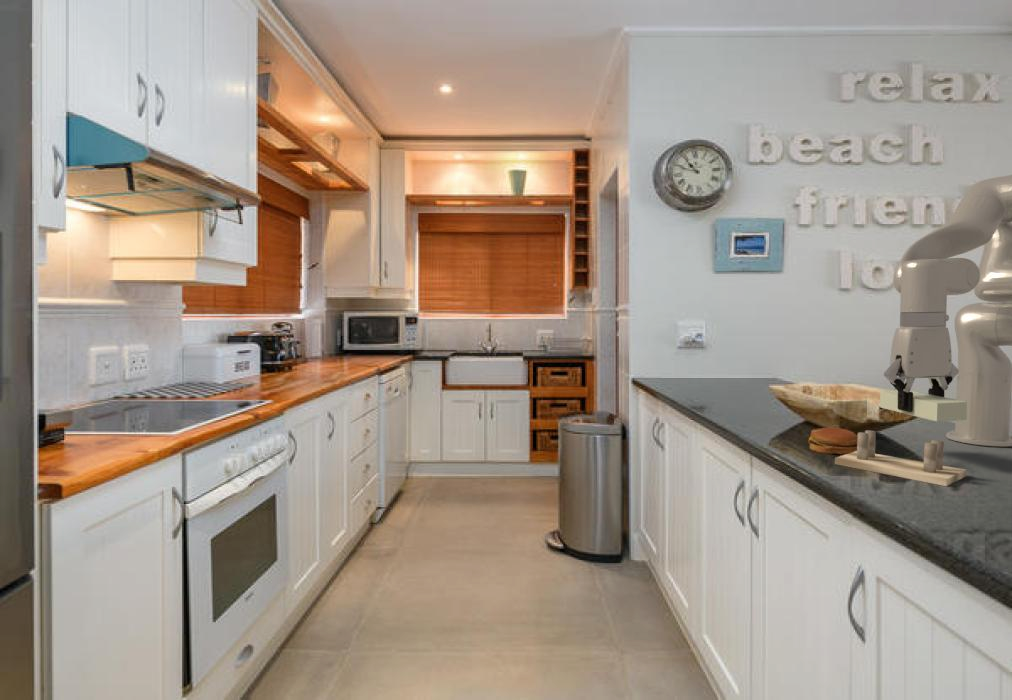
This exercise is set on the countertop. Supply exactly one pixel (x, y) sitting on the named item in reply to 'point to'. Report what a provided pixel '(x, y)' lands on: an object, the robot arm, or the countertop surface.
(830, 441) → the burger
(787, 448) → the countertop surface
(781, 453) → the countertop surface
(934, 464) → the peg rack
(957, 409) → the shelf board
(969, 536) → the countertop surface
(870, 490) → the countertop surface
